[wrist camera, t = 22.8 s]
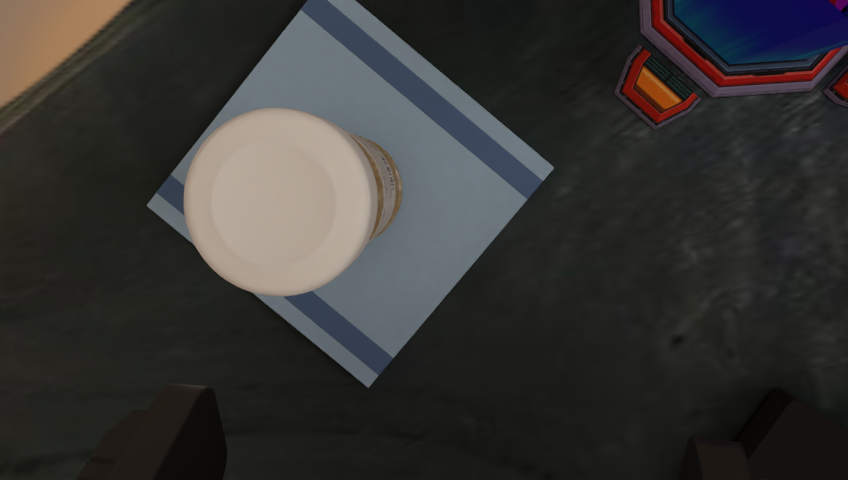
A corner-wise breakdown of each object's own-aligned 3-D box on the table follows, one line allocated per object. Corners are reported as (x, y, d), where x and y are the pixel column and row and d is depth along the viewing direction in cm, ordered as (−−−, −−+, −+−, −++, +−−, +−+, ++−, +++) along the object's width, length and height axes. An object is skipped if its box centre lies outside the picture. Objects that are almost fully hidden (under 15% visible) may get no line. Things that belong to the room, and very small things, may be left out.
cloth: (553, 167, 31) (554, 167, 31) (369, 385, 32) (368, 388, 32) (327, -22, 31) (326, -24, 30) (149, 205, 32) (145, 205, 31)
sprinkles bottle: (279, 155, 31) (149, 140, 18) (384, 119, 31) (334, 77, 17) (315, 260, 31) (214, 324, 18) (420, 226, 31) (397, 266, 18)
